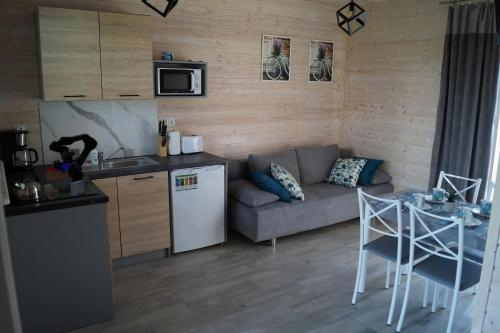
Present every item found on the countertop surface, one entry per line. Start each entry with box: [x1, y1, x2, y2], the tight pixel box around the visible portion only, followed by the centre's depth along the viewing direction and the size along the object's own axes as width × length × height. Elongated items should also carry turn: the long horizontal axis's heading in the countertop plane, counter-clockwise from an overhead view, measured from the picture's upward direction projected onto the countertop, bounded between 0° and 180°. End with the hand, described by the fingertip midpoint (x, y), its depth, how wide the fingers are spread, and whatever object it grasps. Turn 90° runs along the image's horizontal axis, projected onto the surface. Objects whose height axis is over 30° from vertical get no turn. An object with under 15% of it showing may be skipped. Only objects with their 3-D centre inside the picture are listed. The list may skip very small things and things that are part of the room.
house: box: [44, 163, 71, 181], centre depth 321 cm, size 12×20×12 cm, turn 171°
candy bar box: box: [68, 147, 81, 164], centre depth 358 cm, size 11×5×16 cm, turn 84°
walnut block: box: [47, 188, 60, 201], centre depth 262 cm, size 5×5×5 cm
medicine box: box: [69, 180, 86, 197], centre depth 270 cm, size 8×4×9 cm, turn 158°
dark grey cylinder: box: [44, 186, 55, 198], centre depth 267 cm, size 5×5×6 cm
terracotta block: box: [44, 183, 53, 195], centre depth 272 cm, size 4×4×6 cm
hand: (71, 172), depth 274 cm, fingers open, 9 cm apart
